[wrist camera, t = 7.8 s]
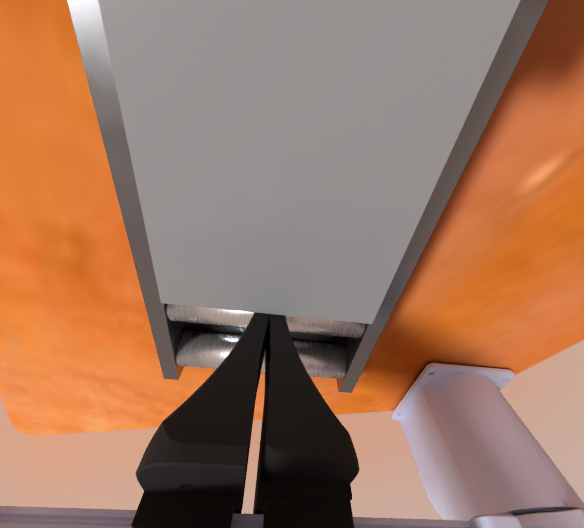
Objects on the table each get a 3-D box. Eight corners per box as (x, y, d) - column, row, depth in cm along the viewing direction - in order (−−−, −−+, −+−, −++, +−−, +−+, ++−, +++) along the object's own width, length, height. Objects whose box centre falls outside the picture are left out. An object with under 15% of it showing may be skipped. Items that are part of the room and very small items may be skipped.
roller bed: (344, 360, 20) (351, 392, 18) (179, 346, 19) (164, 378, 17) (500, -13, 9) (579, -62, 6) (102, -104, 7) (15, -204, 5)
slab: (364, 304, 13) (371, 324, 12) (173, 284, 12) (160, 303, 11) (499, -27, 6) (547, -60, 5) (109, -118, 6) (60, -181, 4)
